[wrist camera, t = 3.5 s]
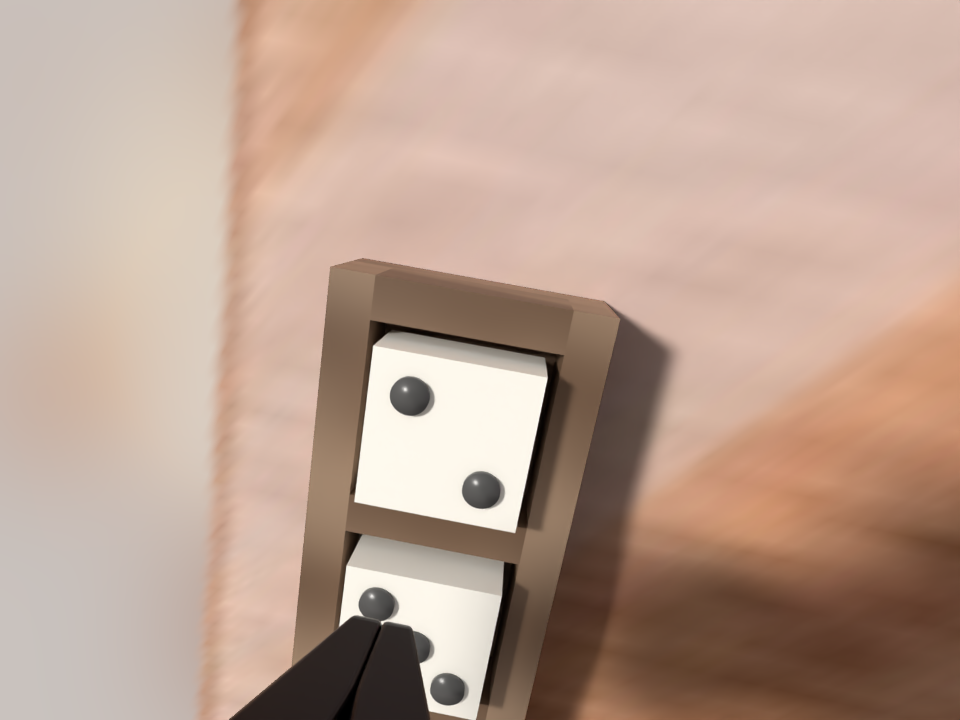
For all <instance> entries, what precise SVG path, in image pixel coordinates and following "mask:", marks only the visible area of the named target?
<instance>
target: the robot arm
mask: <svg viewBox="0 0 960 720" xmlns="http://www.w3.org/2000/svg"><path fill="white" fill-rule="evenodd" d="M229 720H431V719H430V714H429V709H428V704H427V699H426V693H425V688H424V683H423V678H422V673H421V668H420V663H419V658H418V652H417V647H416V642H415V637H414V632H413V629H412V628H411V627H410V626H408V625H404V624H399V623H394V622H389V621H387V622H384V623H383V625H382V624H381V621H380V620H378V619H374V618H369V617H364V616H359V615H354V616H352V617H350V618H349V619H348V620H347V621H345V622H344V623H343V624H342V625H341V626H339V627H338V628H337V629H336V630H335V631H334V632H332V633H331V634H330V635H329V636H328V637H326V638H325V639H324V640H323V641H322V642H320V643H319V644H318V645H317V646H316V647H315V648H313V649H312V650H311V651H310V652H309V653H307V654H306V655H305V656H304V657H303V658H301V659H300V660H299V661H298V662H297V663H296V664H294V665H293V666H292V667H291V668H290V669H288V670H287V671H286V672H285V673H284V674H282V675H281V676H280V677H279V678H278V679H277V680H275V681H274V682H273V683H272V684H271V685H269V686H268V687H267V688H266V689H265V690H263V691H262V692H261V693H260V694H259V695H258V696H256V697H255V698H254V699H253V700H252V701H250V702H249V703H248V704H247V705H246V706H244V707H243V708H242V709H241V710H240V711H239V712H237V713H236V714H235V715H234V716H233V717H231V718H230V719H229Z"/></svg>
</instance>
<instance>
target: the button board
mask: <svg viewBox="0 0 960 720" xmlns="http://www.w3.org/2000/svg"><path fill="white" fill-rule="evenodd" d="M619 323H620V318H619V317H618V316H617V315H616V314H615V313H614V311H613V310H612V309H611V308H610V307H609V306H608V305H607V304H606V303H605V302H604V301H599V300H593V299H588V298H582V297H577V296H571V295H565V294H560V293H554V292H549V291H543V290H537V289H532V288H526V287H521V286H515V285H510V284H504V283H498V282H493V281H487V280H482V279H476V278H470V277H465V276H459V275H454V274H448V273H442V272H437V271H431V270H426V269H420V268H414V267H409V266H403V265H398V264H392V263H386V262H381V261H375V260H370V259H364V258H362V259H358V260H354V261H350V262H347V263H343V264H339V265H335V266H332V267H330V275H329V286H328V296H327V306H326V317H325V327H324V337H323V348H322V358H321V368H320V379H319V389H318V399H317V410H316V420H315V430H314V441H313V451H312V461H311V472H310V482H309V492H308V503H307V513H306V524H305V534H304V544H303V555H302V565H301V575H300V586H299V596H298V606H297V617H296V627H295V637H294V648H293V658H292V666H293V665H294V664H296V663H297V662H298V661H299V660H300V659H301V658H303V657H304V656H305V655H306V654H307V653H309V652H310V651H311V650H312V649H313V648H315V647H316V646H317V645H318V644H319V643H320V642H322V641H323V640H324V639H325V638H326V637H328V636H329V635H330V634H331V633H332V632H334V631H335V630H336V629H337V628H338V627H339V624H340V616H341V607H342V599H343V591H344V583H345V574H346V566H347V564H348V562H349V560H350V558H351V556H352V554H353V552H354V550H355V548H356V546H357V544H358V542H359V540H360V538H361V536H362V534H365V535H370V536H375V537H380V538H385V539H390V540H395V541H401V542H406V543H411V544H416V545H421V546H426V547H431V548H437V549H442V550H447V551H452V552H457V553H462V554H467V555H472V556H478V557H483V558H488V559H493V560H498V561H503V562H504V570H503V587H502V598H501V603H500V608H499V612H498V617H497V622H496V627H495V632H494V636H493V641H492V646H491V651H490V655H489V660H488V665H487V670H486V674H485V679H484V684H483V689H482V694H481V698H480V703H479V708H478V713H477V717H476V720H525V716H526V712H527V708H528V704H529V700H530V695H531V691H532V687H533V683H534V679H535V675H536V670H537V666H538V662H539V658H540V654H541V649H542V645H543V641H544V637H545V633H546V628H547V624H548V620H549V616H550V612H551V608H552V603H553V599H554V595H555V591H556V587H557V582H558V578H559V574H560V570H561V566H562V561H563V557H564V553H565V549H566V545H567V541H568V536H569V532H570V528H571V524H572V520H573V515H574V511H575V507H576V503H577V499H578V494H579V490H580V486H581V482H582V478H583V474H584V469H585V465H586V461H587V457H588V453H589V448H590V444H591V440H592V436H593V432H594V428H595V423H596V419H597V415H598V411H599V407H600V402H601V398H602V394H603V390H604V386H605V381H606V377H607V373H608V369H609V365H610V361H611V356H612V352H613V348H614V344H615V340H616V335H617V331H618V327H619ZM391 330H396V331H402V332H407V333H412V334H418V335H423V336H429V337H434V338H440V339H445V340H451V341H456V342H462V343H467V344H473V345H478V346H484V347H489V348H495V349H500V350H506V351H511V352H516V353H522V354H527V355H533V356H538V357H544V358H545V362H546V369H547V376H548V379H547V384H546V388H545V393H544V398H543V403H542V407H541V412H540V417H539V422H538V427H537V431H536V436H535V441H534V446H533V450H532V455H531V460H530V465H529V469H528V474H527V479H526V484H525V489H524V493H523V498H522V503H521V508H520V512H519V517H518V522H517V527H516V531H515V533H512V532H507V531H502V530H496V529H491V528H486V527H481V526H476V525H470V524H465V523H460V522H455V521H450V520H445V519H439V518H434V517H429V516H424V515H419V514H414V513H408V512H403V511H398V510H393V509H388V508H382V507H377V506H372V505H367V504H362V503H357V502H354V500H355V492H356V484H357V476H358V467H359V459H360V451H361V443H362V434H363V426H364V418H365V410H366V401H367V393H368V385H369V377H370V368H371V360H372V352H373V345H375V344H376V343H377V342H378V341H379V340H380V339H382V338H383V337H384V336H385V335H386V334H387V333H389V332H390V331H391ZM429 714H430V719H431V720H470V719H465V718H460V717H455V716H450V715H445V714H440V713H436V712H431V711H429Z"/></svg>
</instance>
